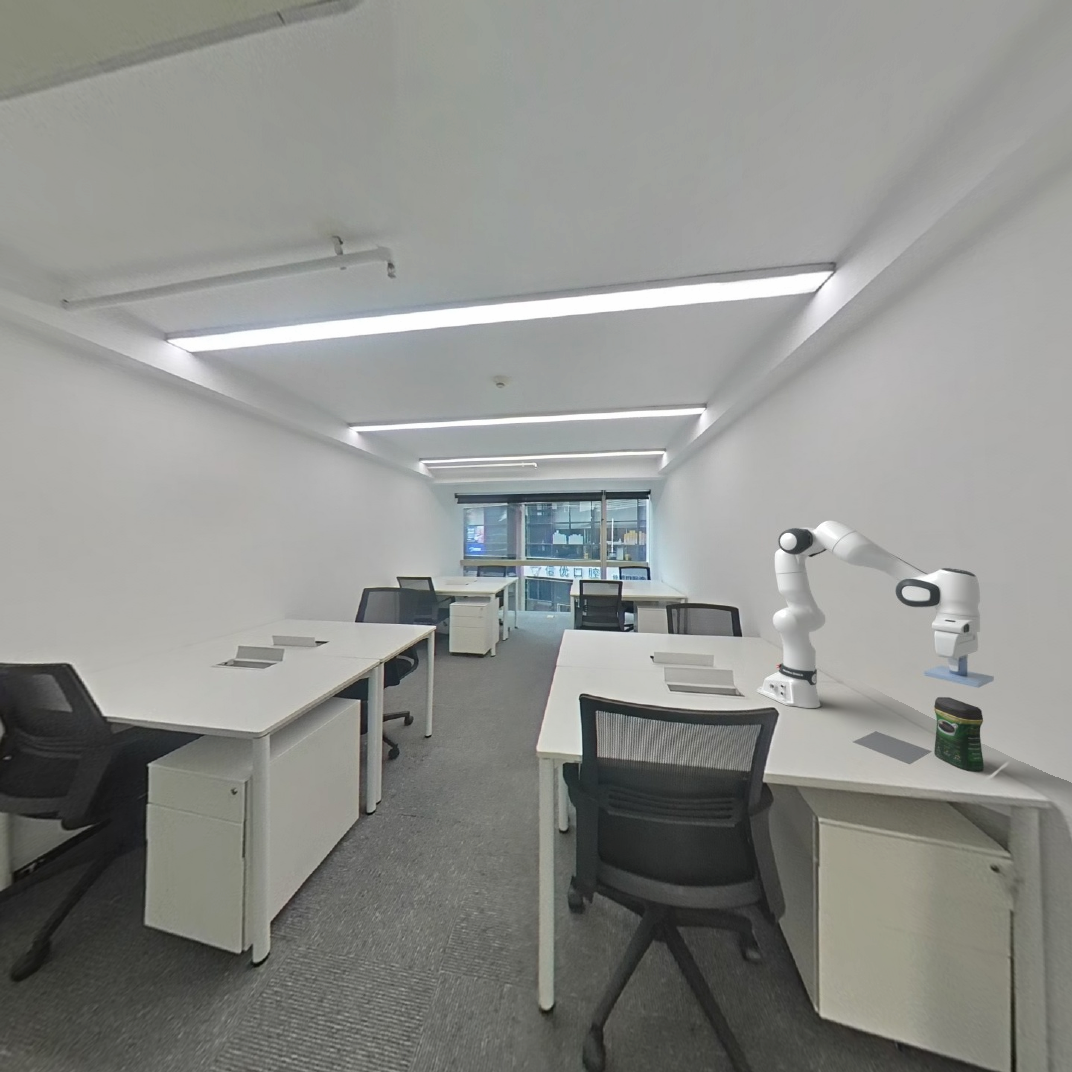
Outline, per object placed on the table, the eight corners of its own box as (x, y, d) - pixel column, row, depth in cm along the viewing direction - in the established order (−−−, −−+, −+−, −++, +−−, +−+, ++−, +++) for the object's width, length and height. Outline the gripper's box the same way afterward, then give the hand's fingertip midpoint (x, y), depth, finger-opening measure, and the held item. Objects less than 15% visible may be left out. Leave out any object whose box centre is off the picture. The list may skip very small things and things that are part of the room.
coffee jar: (990, 773, 110) (990, 707, 110) (964, 773, 109) (964, 708, 109) (952, 754, 119) (952, 694, 119) (928, 754, 119) (928, 694, 119)
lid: (924, 675, 116) (924, 656, 116) (941, 669, 122) (941, 651, 122) (978, 687, 107) (977, 666, 107) (993, 680, 113) (993, 660, 113)
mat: (852, 743, 125) (852, 741, 125) (875, 732, 132) (875, 731, 132) (909, 765, 113) (909, 764, 113) (931, 752, 120) (931, 751, 120)
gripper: (955, 618, 122) (955, 661, 122) (929, 623, 113) (929, 671, 113) (985, 622, 117) (985, 667, 117) (960, 628, 107) (960, 677, 107)
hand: (957, 669), depth 115 cm, fingers closed on lid, 4 cm apart
